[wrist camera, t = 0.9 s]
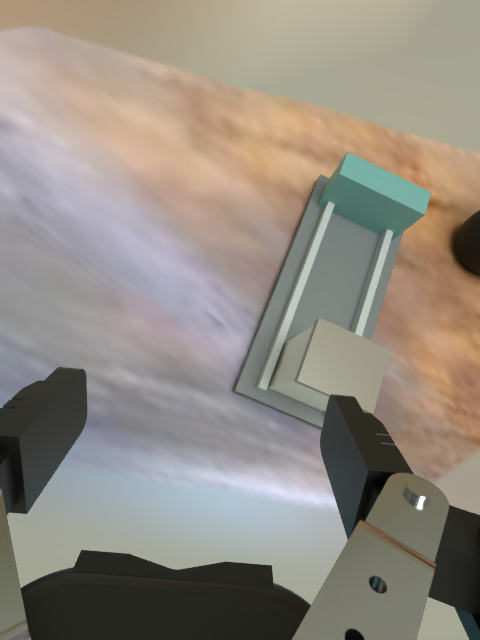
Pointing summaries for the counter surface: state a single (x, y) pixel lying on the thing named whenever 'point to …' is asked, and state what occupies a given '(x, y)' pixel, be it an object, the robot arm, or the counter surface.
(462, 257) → the cola bottle
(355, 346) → the keeper
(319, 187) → the rail track
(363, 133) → the counter surface
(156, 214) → the counter surface
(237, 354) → the counter surface
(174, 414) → the counter surface
